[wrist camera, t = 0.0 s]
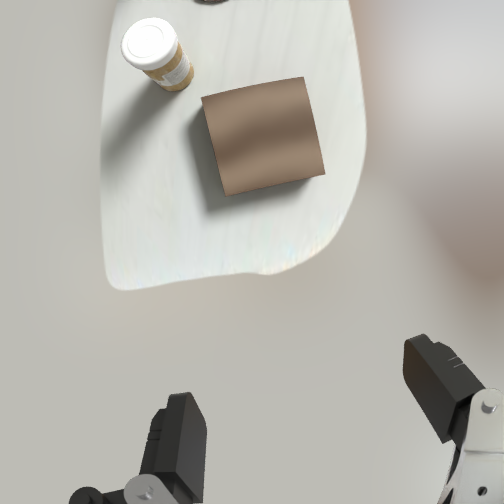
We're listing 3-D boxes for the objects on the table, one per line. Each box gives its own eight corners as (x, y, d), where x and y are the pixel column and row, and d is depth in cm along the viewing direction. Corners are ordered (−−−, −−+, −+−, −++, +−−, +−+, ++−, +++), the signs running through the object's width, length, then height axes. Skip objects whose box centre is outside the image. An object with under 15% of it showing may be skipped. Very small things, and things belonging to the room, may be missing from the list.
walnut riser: (204, 102, 34) (200, 97, 30) (296, 83, 33) (303, 76, 30) (226, 191, 37) (225, 196, 33) (316, 171, 37) (325, 174, 33)
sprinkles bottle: (150, 74, 32) (109, 42, 19) (179, 50, 31) (153, 6, 19) (172, 99, 33) (139, 76, 21) (202, 75, 33) (185, 40, 20)
